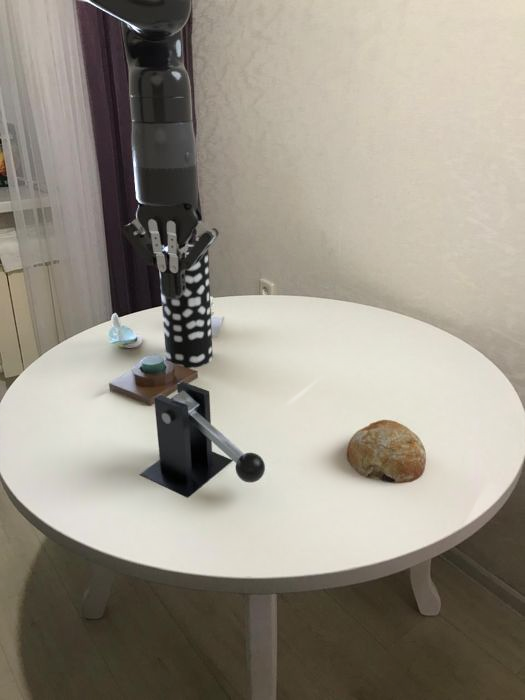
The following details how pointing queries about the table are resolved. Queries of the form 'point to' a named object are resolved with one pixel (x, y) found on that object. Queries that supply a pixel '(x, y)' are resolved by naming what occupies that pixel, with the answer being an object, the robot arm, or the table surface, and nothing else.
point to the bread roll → (387, 452)
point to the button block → (152, 382)
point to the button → (152, 364)
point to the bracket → (183, 445)
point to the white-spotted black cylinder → (189, 318)
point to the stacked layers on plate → (215, 321)
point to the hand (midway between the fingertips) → (174, 297)
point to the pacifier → (122, 334)
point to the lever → (224, 442)
